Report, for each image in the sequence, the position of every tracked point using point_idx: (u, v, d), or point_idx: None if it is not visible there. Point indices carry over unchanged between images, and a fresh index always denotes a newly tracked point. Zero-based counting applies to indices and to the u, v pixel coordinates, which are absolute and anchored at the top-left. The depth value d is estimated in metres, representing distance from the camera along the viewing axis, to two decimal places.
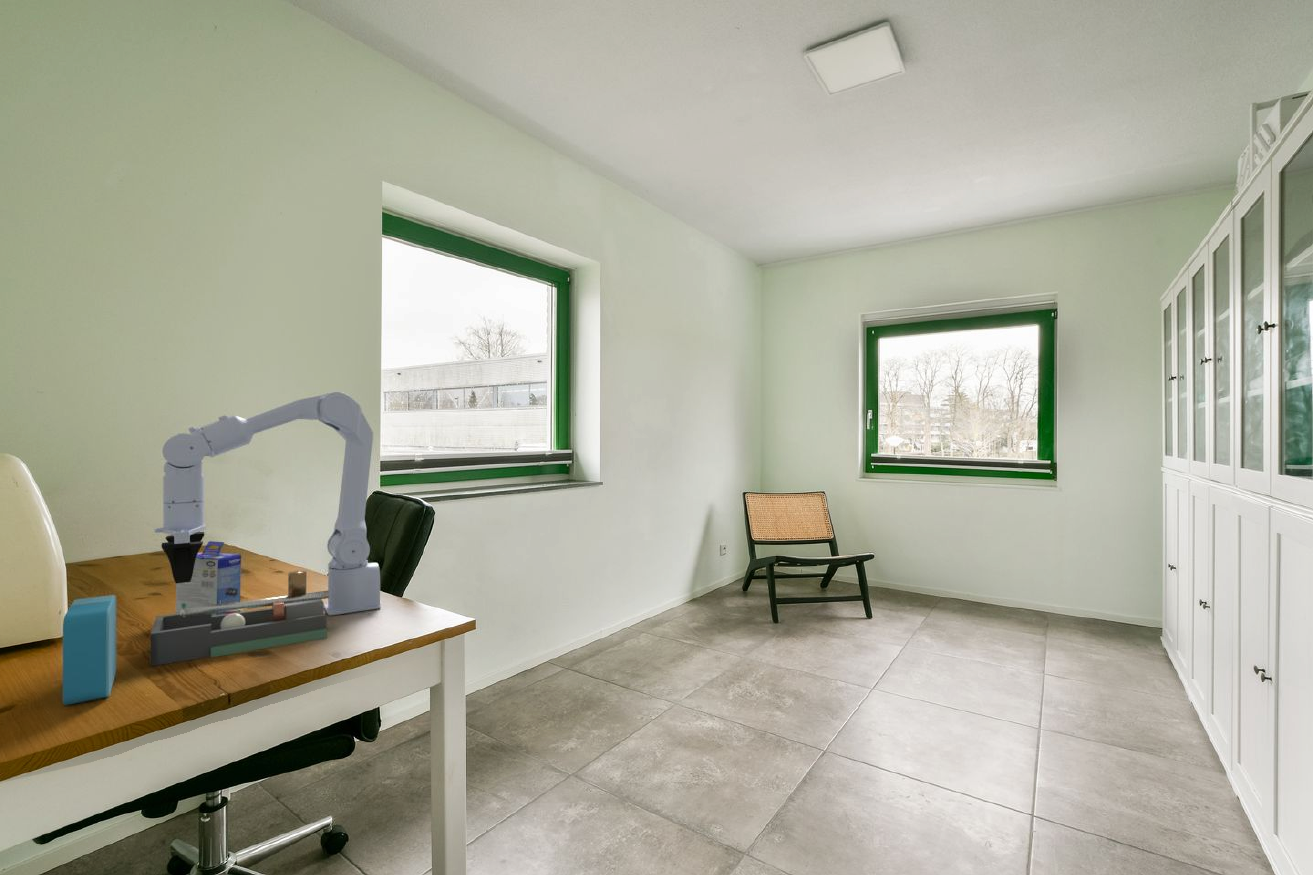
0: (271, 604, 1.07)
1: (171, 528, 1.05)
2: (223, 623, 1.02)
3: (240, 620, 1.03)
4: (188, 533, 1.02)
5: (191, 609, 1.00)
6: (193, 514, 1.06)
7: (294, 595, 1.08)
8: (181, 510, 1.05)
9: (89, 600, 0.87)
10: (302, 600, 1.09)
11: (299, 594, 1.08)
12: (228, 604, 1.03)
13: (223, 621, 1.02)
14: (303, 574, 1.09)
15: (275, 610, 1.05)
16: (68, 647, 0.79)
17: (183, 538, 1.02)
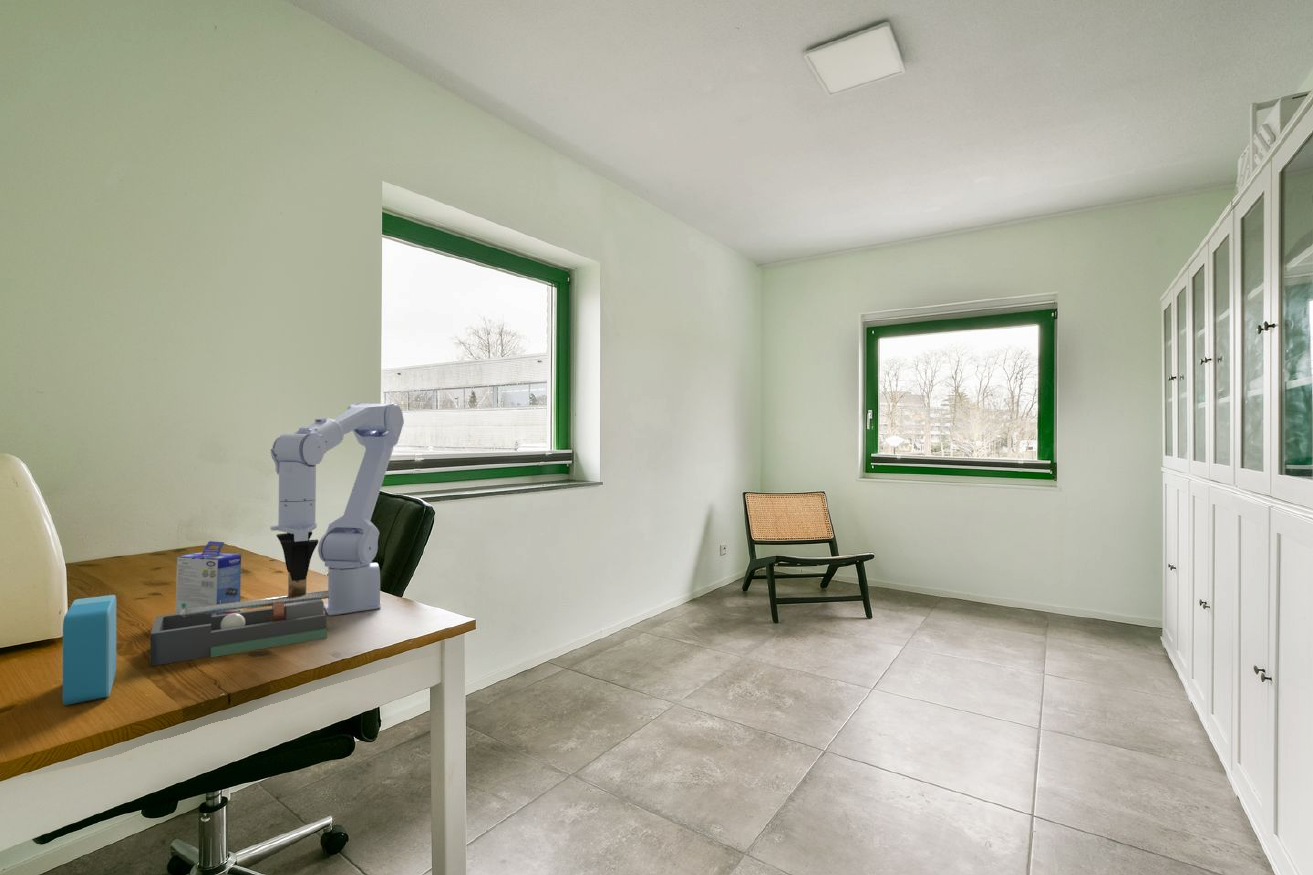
0: (271, 604, 1.07)
1: (287, 526, 1.06)
2: (223, 623, 1.02)
3: (240, 620, 1.03)
4: (307, 531, 1.04)
5: (191, 609, 1.00)
6: (307, 512, 1.08)
7: (294, 595, 1.08)
8: (297, 509, 1.07)
9: (89, 600, 0.87)
10: (302, 600, 1.09)
11: (299, 594, 1.08)
12: (228, 604, 1.03)
13: (223, 621, 1.02)
14: None
15: (275, 610, 1.05)
16: (68, 647, 0.79)
17: (302, 536, 1.03)
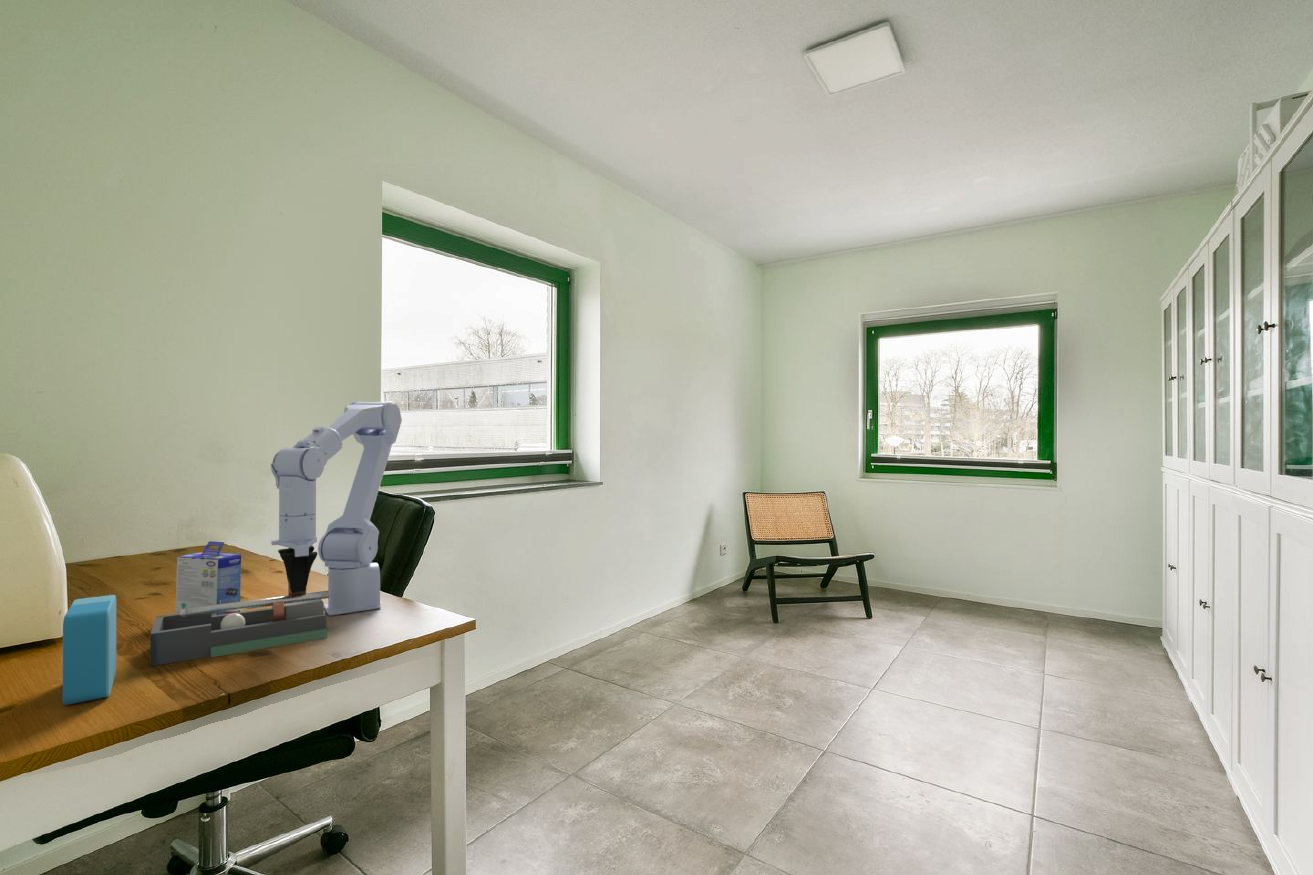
0: (271, 604, 1.07)
1: (288, 541, 1.06)
2: (223, 623, 1.02)
3: (240, 620, 1.03)
4: (307, 546, 1.04)
5: (191, 609, 1.00)
6: (308, 526, 1.08)
7: (294, 595, 1.08)
8: (298, 523, 1.07)
9: (89, 600, 0.87)
10: (302, 600, 1.09)
11: (299, 594, 1.08)
12: (228, 604, 1.03)
13: (223, 621, 1.02)
14: None
15: (275, 610, 1.05)
16: (68, 646, 0.79)
17: (303, 551, 1.03)
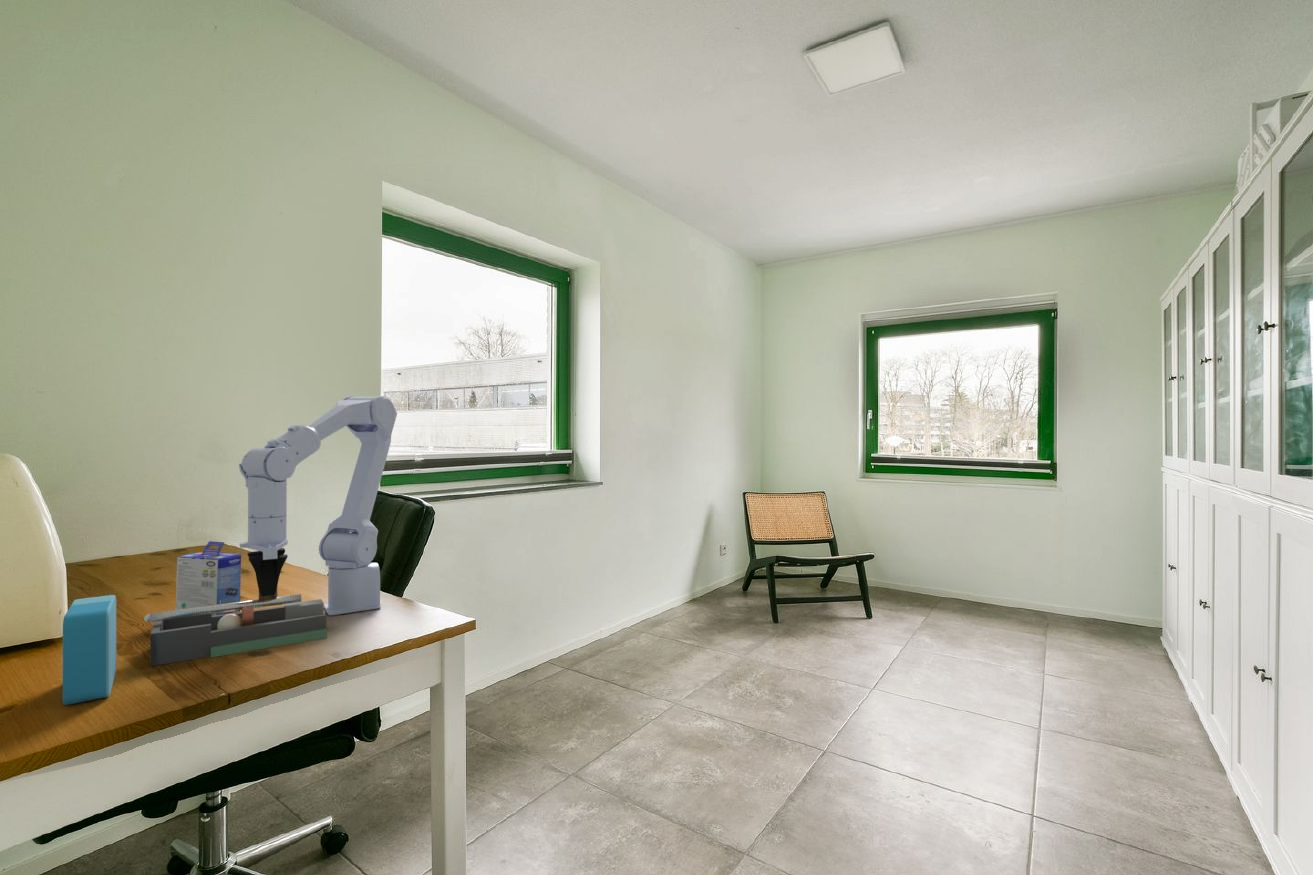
0: (240, 608, 1.04)
1: (257, 543, 1.04)
2: (219, 626, 1.02)
3: (235, 619, 1.03)
4: (276, 549, 1.01)
5: (156, 614, 0.98)
6: (277, 528, 1.05)
7: (264, 599, 1.05)
8: (267, 525, 1.04)
9: (89, 600, 0.87)
10: (273, 604, 1.07)
11: (270, 598, 1.06)
12: (195, 608, 1.01)
13: (219, 624, 1.02)
14: None
15: (244, 614, 1.03)
16: (68, 647, 0.79)
17: (271, 554, 1.01)
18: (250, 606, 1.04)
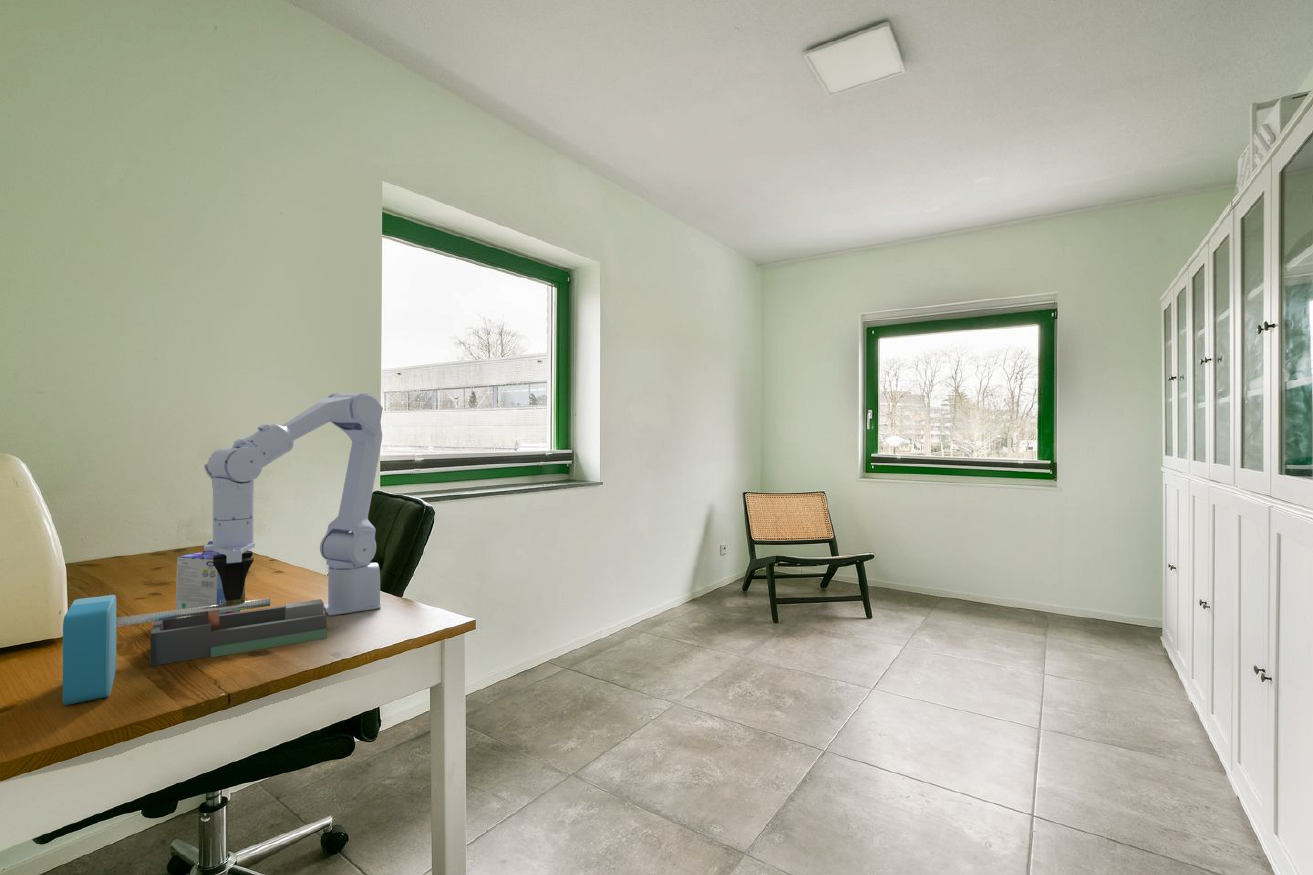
0: (206, 613, 1.01)
1: (221, 546, 1.01)
2: None
3: None
4: (240, 552, 0.98)
5: (117, 619, 0.95)
6: (243, 531, 1.02)
7: (231, 603, 1.03)
8: (232, 528, 1.01)
9: (89, 600, 0.87)
10: (240, 608, 1.04)
11: (237, 602, 1.03)
12: (159, 613, 0.98)
13: None
14: None
15: (210, 619, 1.00)
16: (68, 646, 0.79)
17: (235, 557, 0.98)
18: (216, 611, 1.01)
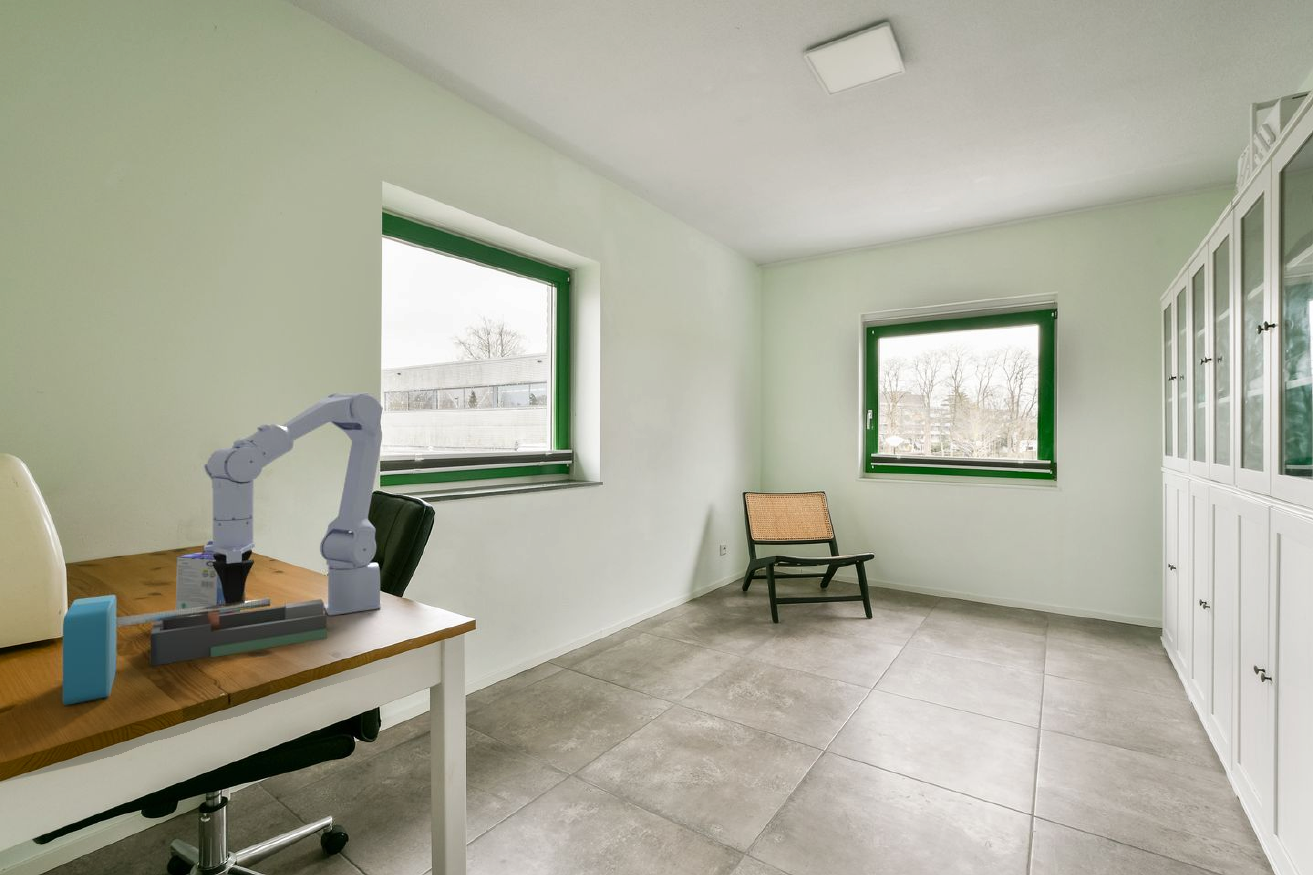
0: (206, 613, 1.01)
1: (221, 546, 1.01)
2: None
3: None
4: (240, 552, 0.98)
5: (117, 619, 0.95)
6: (243, 531, 1.02)
7: (231, 603, 1.03)
8: (232, 528, 1.01)
9: (89, 600, 0.87)
10: (240, 608, 1.04)
11: (237, 602, 1.03)
12: (158, 613, 0.98)
13: None
14: None
15: (209, 619, 1.00)
16: (68, 646, 0.79)
17: (235, 557, 0.98)
18: (216, 611, 1.01)
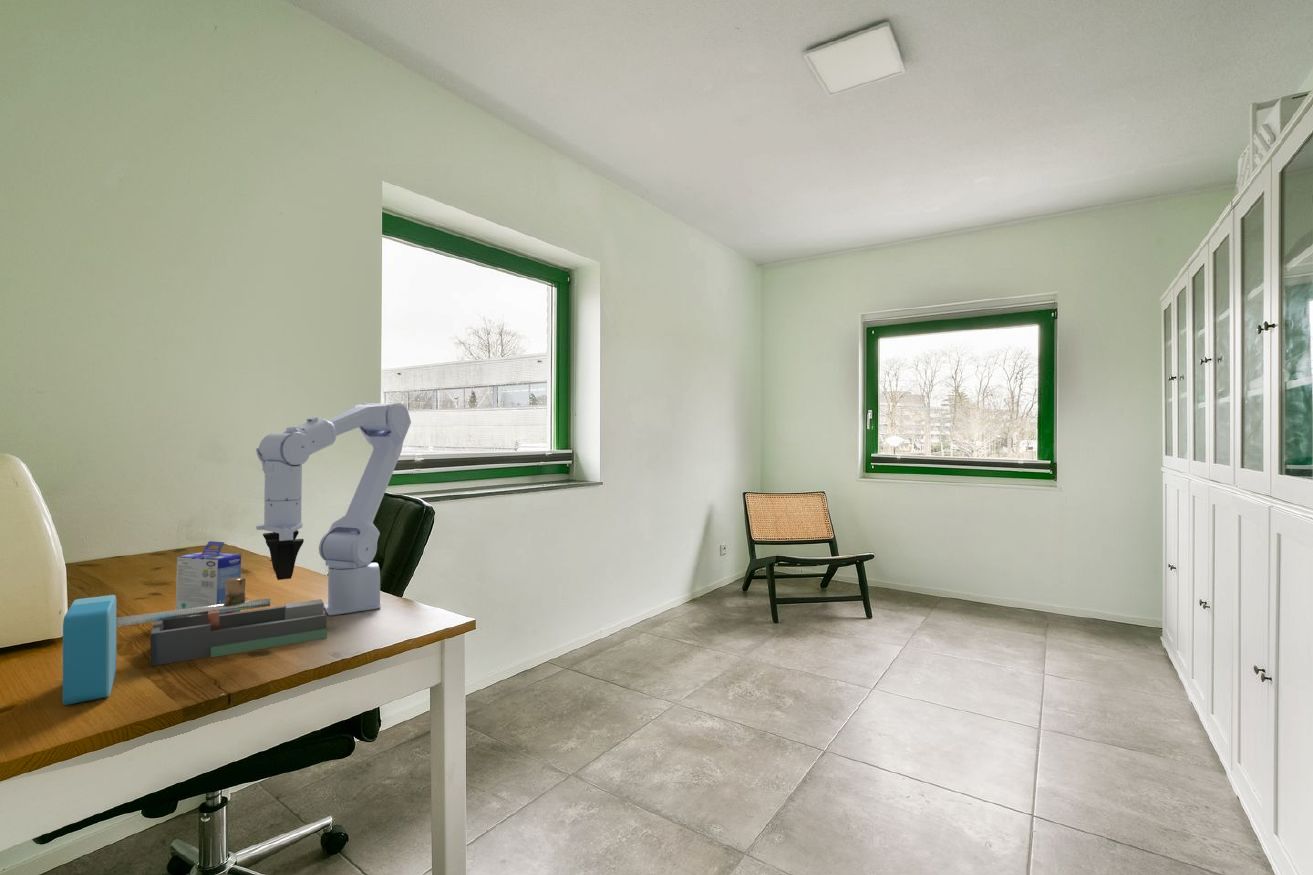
0: (206, 613, 1.01)
1: (273, 525, 1.07)
2: None
3: None
4: (292, 530, 1.04)
5: (117, 619, 0.95)
6: (293, 511, 1.08)
7: (231, 603, 1.03)
8: (283, 508, 1.07)
9: (89, 600, 0.87)
10: (240, 608, 1.04)
11: (237, 602, 1.03)
12: (158, 613, 0.98)
13: None
14: (241, 581, 1.04)
15: (209, 619, 1.00)
16: (68, 646, 0.79)
17: (287, 535, 1.04)
18: (216, 611, 1.01)
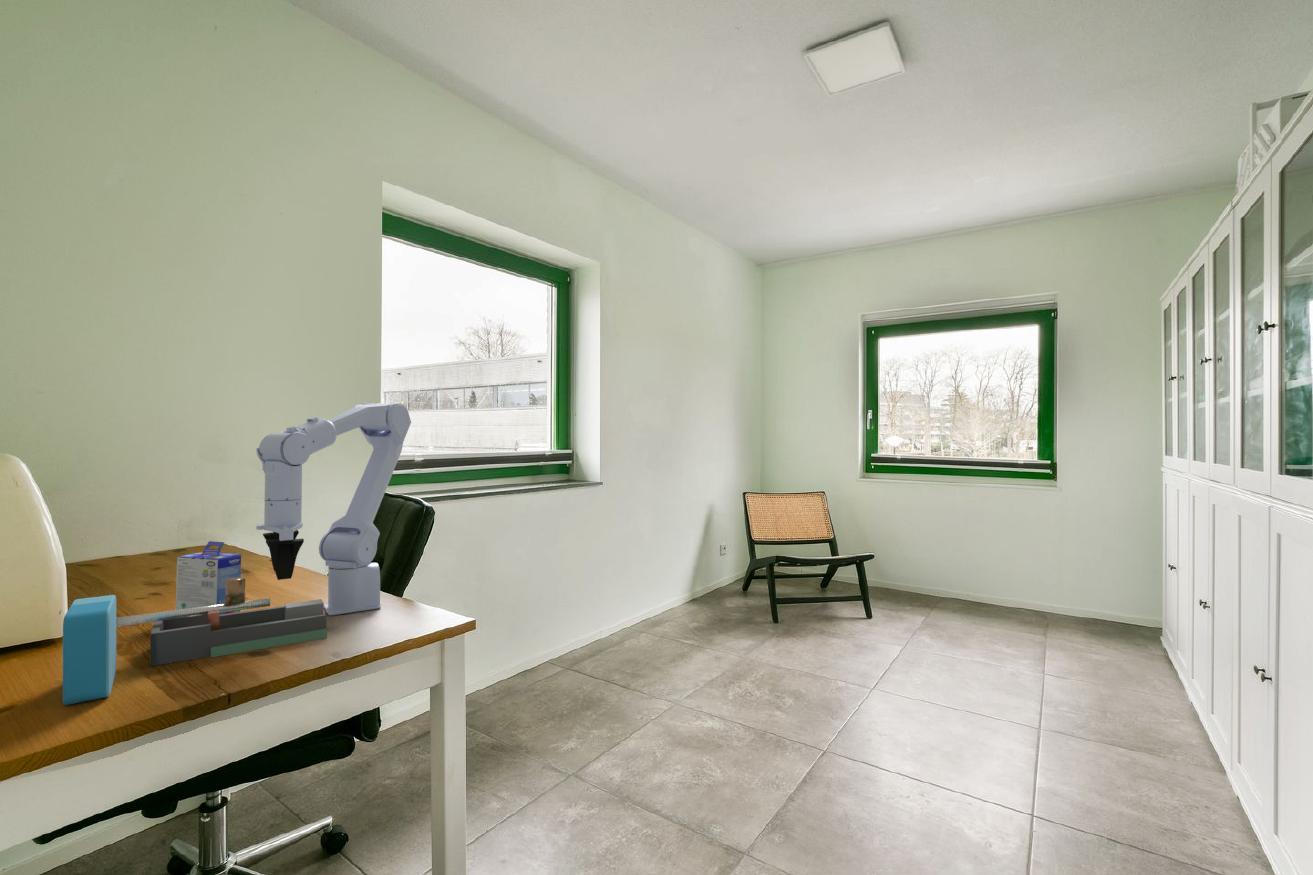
0: (206, 613, 1.01)
1: (273, 525, 1.07)
2: None
3: None
4: (292, 530, 1.04)
5: (117, 619, 0.95)
6: (293, 511, 1.08)
7: (231, 603, 1.03)
8: (283, 508, 1.07)
9: (89, 600, 0.87)
10: (240, 608, 1.04)
11: (237, 602, 1.03)
12: (158, 613, 0.98)
13: None
14: (241, 581, 1.04)
15: (209, 619, 1.00)
16: (68, 646, 0.79)
17: (288, 535, 1.04)
18: (216, 611, 1.01)
